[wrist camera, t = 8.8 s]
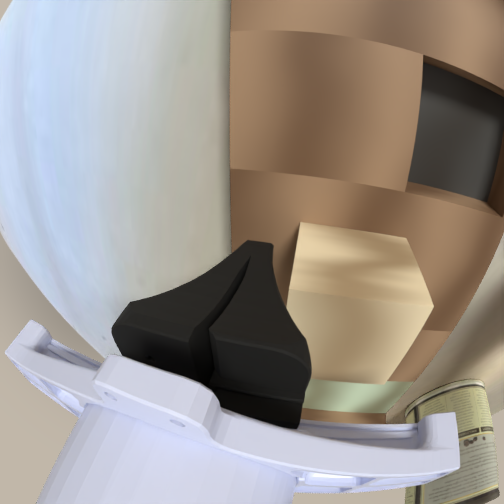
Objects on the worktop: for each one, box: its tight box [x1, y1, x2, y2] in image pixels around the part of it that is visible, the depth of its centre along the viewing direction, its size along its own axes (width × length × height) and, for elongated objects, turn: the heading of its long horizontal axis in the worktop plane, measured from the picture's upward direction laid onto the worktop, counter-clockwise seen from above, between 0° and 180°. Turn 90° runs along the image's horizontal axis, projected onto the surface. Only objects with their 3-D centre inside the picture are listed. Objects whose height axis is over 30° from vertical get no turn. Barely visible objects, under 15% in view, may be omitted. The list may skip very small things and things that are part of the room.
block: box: [286, 222, 434, 385], centre depth 11 cm, size 5×5×4 cm
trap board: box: [230, 0, 504, 424], centre depth 13 cm, size 14×33×4 cm, turn 179°
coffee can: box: [405, 379, 499, 504], centre depth 16 cm, size 10×10×14 cm
